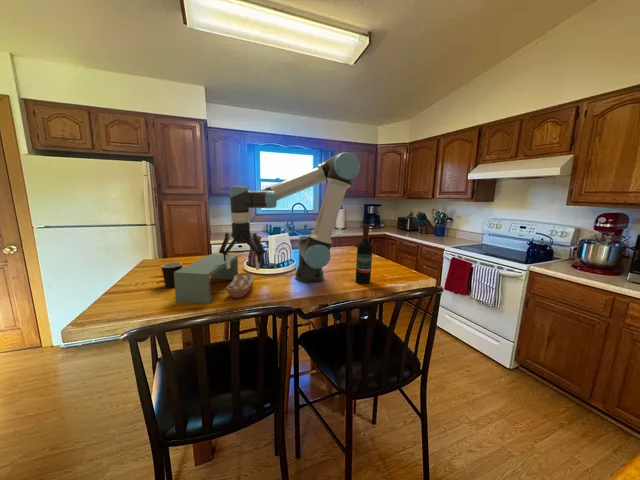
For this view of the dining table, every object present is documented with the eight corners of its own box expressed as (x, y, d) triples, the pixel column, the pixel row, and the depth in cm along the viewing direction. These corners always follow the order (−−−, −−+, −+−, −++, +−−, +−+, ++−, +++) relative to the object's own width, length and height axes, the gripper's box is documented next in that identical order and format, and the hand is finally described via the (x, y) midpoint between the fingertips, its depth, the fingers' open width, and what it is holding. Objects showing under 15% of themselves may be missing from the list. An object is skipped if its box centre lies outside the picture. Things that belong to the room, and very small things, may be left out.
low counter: (238, 278, 139) (237, 255, 137) (209, 303, 109) (207, 274, 107) (212, 277, 140) (211, 253, 138) (175, 301, 110) (173, 272, 108)
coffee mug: (174, 289, 123) (173, 268, 121) (158, 287, 124) (156, 266, 123) (191, 281, 134) (190, 261, 132) (176, 279, 136) (174, 260, 134)
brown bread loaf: (236, 282, 134) (236, 272, 133) (256, 282, 135) (256, 273, 134) (224, 301, 112) (223, 290, 111) (248, 301, 113) (248, 290, 112)
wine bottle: (371, 281, 141) (375, 224, 136) (368, 285, 135) (371, 226, 129) (357, 279, 144) (361, 223, 139) (353, 283, 138) (356, 224, 132)
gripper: (271, 221, 120) (272, 267, 124) (217, 220, 122) (220, 265, 126) (266, 223, 113) (267, 272, 117) (208, 222, 115) (212, 270, 119)
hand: (243, 268), depth 122 cm, fingers open, 13 cm apart
